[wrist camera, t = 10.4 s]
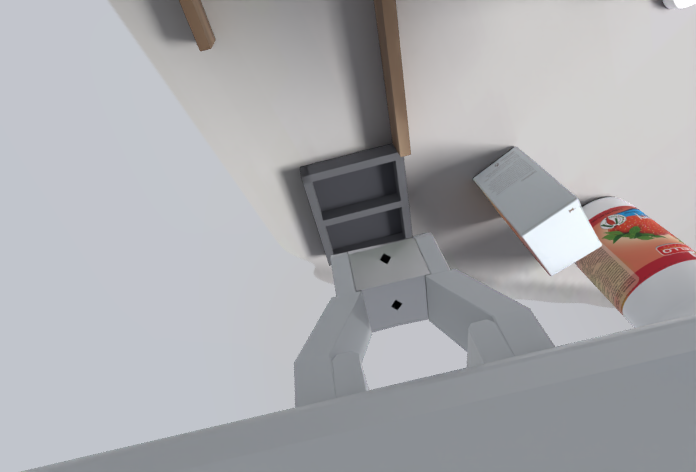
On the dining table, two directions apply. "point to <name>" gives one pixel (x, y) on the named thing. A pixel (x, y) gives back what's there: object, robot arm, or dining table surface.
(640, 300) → the fruit juice
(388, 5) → the lane walls
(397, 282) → the robot arm
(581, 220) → the small box
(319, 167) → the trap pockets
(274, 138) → the dining table surface
